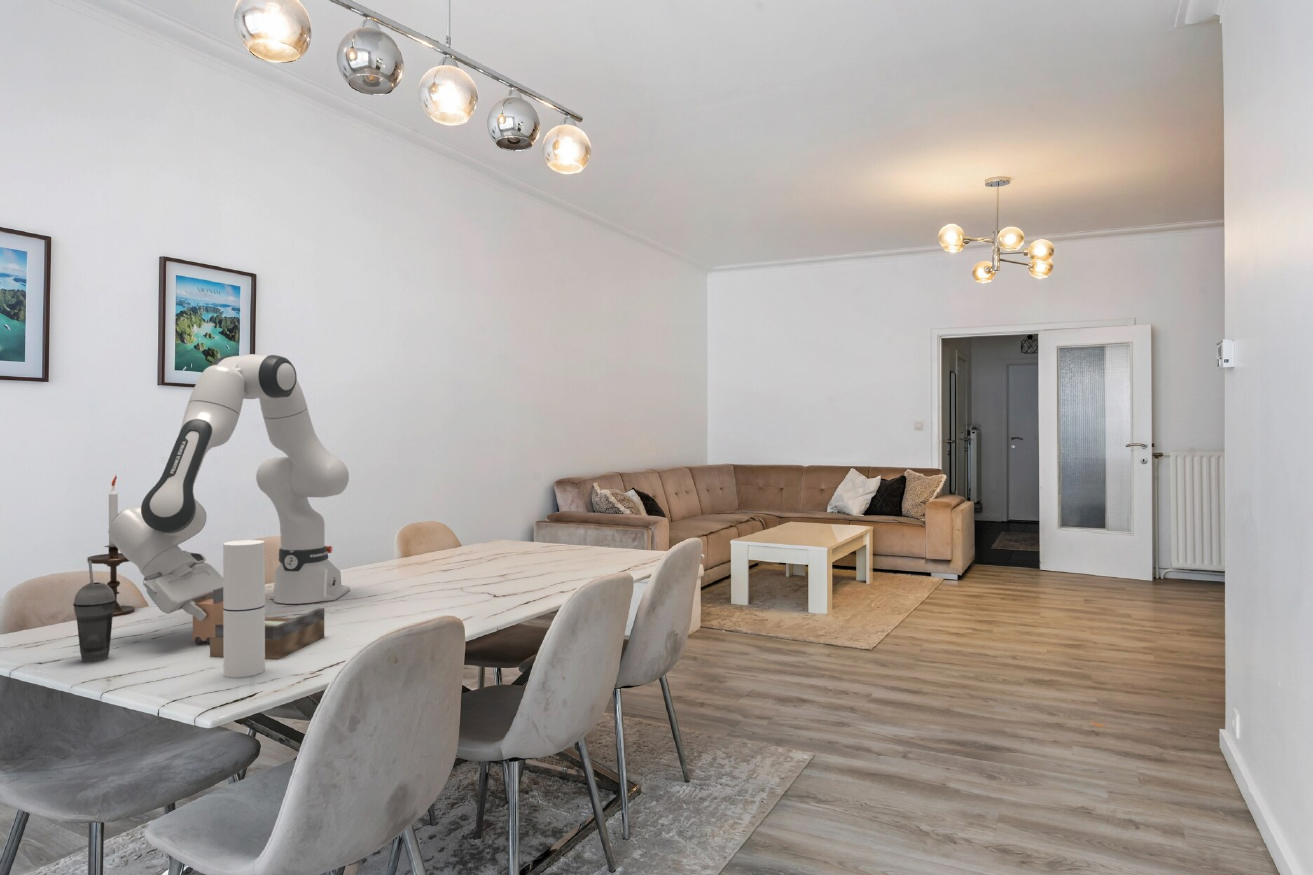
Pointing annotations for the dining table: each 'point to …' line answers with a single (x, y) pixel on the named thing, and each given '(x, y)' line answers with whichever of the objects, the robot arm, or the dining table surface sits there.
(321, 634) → the dock
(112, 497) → the candlestick
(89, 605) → the beverage cup
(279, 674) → the dining table surface
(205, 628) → the tan block
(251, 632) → the cylindrical container
